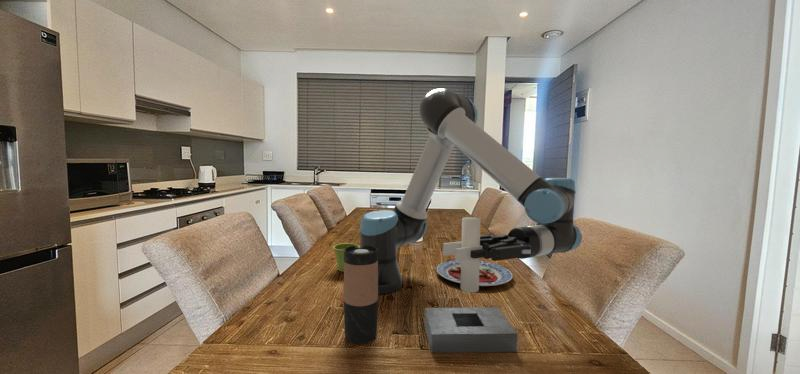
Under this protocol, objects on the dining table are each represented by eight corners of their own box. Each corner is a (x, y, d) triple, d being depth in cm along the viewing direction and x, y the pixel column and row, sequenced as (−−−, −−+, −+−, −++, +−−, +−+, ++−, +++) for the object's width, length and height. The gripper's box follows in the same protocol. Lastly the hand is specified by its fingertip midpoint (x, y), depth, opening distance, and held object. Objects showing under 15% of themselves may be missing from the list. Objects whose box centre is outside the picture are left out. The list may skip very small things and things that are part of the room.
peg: (458, 290, 70) (459, 219, 69) (463, 284, 74) (465, 216, 72) (475, 293, 68) (477, 220, 67) (480, 287, 72) (482, 218, 71)
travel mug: (363, 349, 67) (363, 256, 65) (336, 338, 71) (336, 250, 69) (384, 332, 73) (385, 248, 72) (358, 323, 77) (358, 243, 76)
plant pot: (349, 263, 122) (349, 241, 122) (364, 269, 116) (364, 246, 115) (328, 269, 116) (328, 246, 115) (343, 276, 109) (343, 251, 108)
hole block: (431, 352, 66) (431, 334, 65) (424, 323, 78) (424, 307, 77) (516, 351, 66) (517, 333, 66) (496, 322, 78) (497, 307, 78)
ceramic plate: (455, 295, 95) (456, 285, 95) (426, 267, 120) (426, 260, 119) (529, 287, 102) (529, 278, 102) (486, 262, 127) (486, 255, 126)
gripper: (558, 266, 71) (475, 282, 61) (503, 248, 86) (429, 258, 76) (560, 233, 70) (476, 244, 60) (504, 220, 85) (430, 227, 75)
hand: (450, 252), depth 68 cm, fingers closed on peg, 4 cm apart
